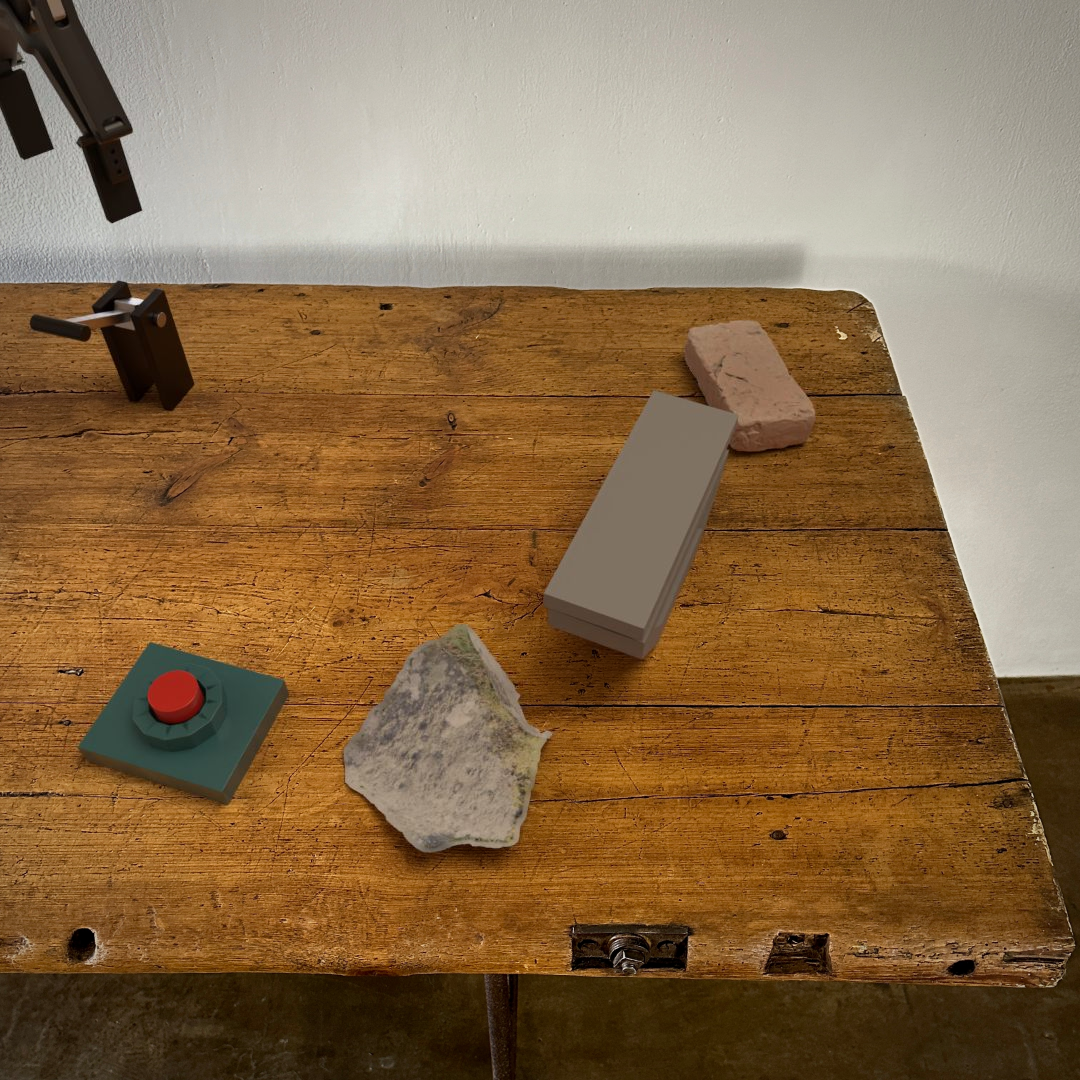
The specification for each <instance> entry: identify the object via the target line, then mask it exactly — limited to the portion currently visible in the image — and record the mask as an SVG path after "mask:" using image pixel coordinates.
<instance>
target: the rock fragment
mask: <svg viewBox="0 0 1080 1080" xmlns="http://www.w3.org/2000/svg"><path fill="white" fill-rule="evenodd" d="M520 697H521V694H520V693H519V692H517V689H516V686H515V685H514V683H513V682H512V681H511V680H510V678H509V676H508V673H506V672H505V670H503V669H502V667H501V664H500V663H499V662H498V661H497V660H496V658H495V657H494V655H492V654H491V653H490V650H489V649H488V648H487V645H486V644H484V643H483V641H482V640H481V638H480V637H479V635H478V634H477V633H476V632H475V631H474V630H473V629H472V627H470V626H469V625H468V624H466V623H458V624H456V625H454V626H452V628H451V629H450V630H449V631H447V632H446V633H445V634H442V636H441V637H439V638H436V639H435V638H433V639H429V640H427V641H425V642H423V643H421V644H419V645H418V646H416V647H415V648H414V649H413V650H412V652H411V653H410V654H409V655H407V656H406V659H405V660H404V662H403V666H402V669H401V670H399V671H398V673H397V674H396V677H395V681H393V682H392V683H391V685H390V687H389V688H388V689H386V690H385V692H384V696H383V700H382V702H380V703H378V704H376V705H375V706H374V707H373V708H371V709H370V710H369V712H368V713H367V716H366V718H365V719H364V721H363V722H362V725H361V727H360V730H359V731H358V732H355V733H354V735H352V736H350V737H351V738H350V739H349V741H348V743H347V744H346V746H344V748H343V762H344V782H345V784H347V786H348V787H349V788H351V789H352V790H354V791H356V792H358V793H359V794H361V795H362V796H363V797H365V798H366V799H367V800H368V801H369V802H370V804H373V805H374V807H375V808H376V809H377V810H378V811H379V812H381V814H383V815H384V817H385V820H386V821H387V822H388V823H389V824H390V826H392V827H394V828H395V829H396V830H397V831H398V832H400V833H402V835H403V837H404V838H405V839H406V841H407V842H408V843H409V844H411V845H412V846H413V847H414V848H415V849H417V850H419V851H420V852H424V853H436V852H442V851H444V850H445V851H446V849H450V848H451V847H455V846H458V845H471V846H472V847H483V848H492V849H500V848H504V847H505V848H507V847H512V846H514V845H516V844H517V843H518V842H519V839H520V836H521V834H520V832H521V826H522V825H523V823H524V822H525V820H526V818H527V816H528V809H529V805H530V801H531V797H532V792H531V791H532V790H533V789H534V787H535V784H536V776H537V773H538V768H539V767H538V764H539V762H541V754H542V753H541V750H542V748H543V747H544V745H545V743H547V742H548V740H549V739H551V737H552V736H553V733H552V732H551V731H550V730H548V729H547V730H545V731H543V732H542V733H541V730H540V729H539V728H538V727H534V726H532V725H531V724H530V723H529V722H528V721H527V719H526V718H525V714H524V713H523V709H522V706H521V705H520V703H519V699H520Z"/></svg>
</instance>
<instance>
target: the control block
mask: <svg viewBox="0 0 1080 1080" xmlns="http://www.w3.org/2000/svg"><path fill="white" fill-rule="evenodd" d="M171 671H185V672H188V673H190V674H192V675H193V676H194V677H195V679H196V680H197V683H198V685H199V687H200V689H201V691H202V694H203V703H202V706H201V708H200V710H199V711H198V712H197V714H196V715H194V716H193V717H192V718H191V719H189V720H187V721H185V722H182V723H177V724H170V723H166V722H163V721H161V720H160V719H159V718H158V717H157V716H156V714H155V713H154V711H153V709H152V707H151V705H150V703H149V701H148V691H149V688H150V686H151V685H152V683H153V682H154V681H155V680H156V679H157V678H158V677H160V676H161V675H163V674H165V673H167V672H171ZM289 696H290V692H289V689H288V686H287V683H286V680H285V679H283V678H279V677H276V676H271V675H268V674H265V673H261V672H258V671H254V670H251V669H248V668H244V667H240V666H236V665H233V664H229V663H226V662H222V661H219V660H215V659H211V658H208V657H205V656H202V655H197V654H194V653H191V652H187V651H184V650H180V649H177V648H174V647H169V646H166V645H162V644H159V643H155V642H151V641H150V642H149V643H148V644H147V645H146V647H145V648H144V650H143V651H142V652H141V654H140V656H139V657H138V659H136V661H135V663H134V664H133V665H132V667H131V669H130V670H129V672H128V673H127V674H126V676H124V678H123V680H122V681H121V683H120V684H119V685H118V687H117V689H116V691H115V692H114V693H113V695H112V696H111V697H110V699H109V700H108V702H106V703H107V704H106V705H105V706H104V708H103V709H102V710H101V712H100V714H99V715H98V716H97V718H96V719H95V721H94V722H93V724H92V725H91V727H90V728H89V730H88V731H87V732H86V734H85V735H84V737H83V739H82V740H81V741H80V743H79V744H78V746H77V749H78V750H79V752H80V754H81V755H82V756H83V758H84V759H85V761H86V762H89V763H92V764H96V765H98V766H101V767H105V768H108V769H111V770H114V771H116V772H120V773H123V774H126V775H129V776H133V777H136V778H140V779H142V780H146V781H149V782H152V783H156V784H159V785H162V786H166V787H169V788H172V789H175V790H178V791H181V792H184V793H187V794H191V795H194V796H198V797H201V798H204V799H206V800H210V801H213V802H216V803H219V804H223V805H226V806H229V805H230V803H231V802H232V800H233V798H234V796H235V794H236V792H237V790H238V789H239V787H240V785H241V784H242V782H243V780H244V778H245V776H246V775H247V772H248V770H249V768H250V767H251V765H252V763H253V761H254V760H255V758H256V756H257V754H258V752H259V750H260V749H261V747H262V745H263V743H264V742H265V739H266V737H267V736H268V734H269V732H270V731H271V729H272V728H273V725H274V724H275V721H276V720H277V718H278V716H279V715H280V712H281V711H282V709H283V708H284V705H285V704H286V701H287V699H288V698H289Z"/></svg>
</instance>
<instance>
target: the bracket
mask: <svg viewBox="0 0 1080 1080" xmlns="http://www.w3.org/2000/svg"><path fill="white" fill-rule="evenodd" d="M128 298H133V296H132V292H131V290H130V286H129V284H128V282H127V281H123V280H119V279H118V280H117V281H116V282H115V283H113V285H112V286H110V287H109V288H108V289H107V290H106V291H105V292H104V293H103V294H102V295H101V296H100V297H99V298H98V299H96V301H95V302H94V303H93V304H92V305H91V309H92V312H93V314H98V313H103V312H109V311H114V301H116V300H122V299H128ZM142 300H143V301H142V302H141V303H140V305H139V306H138V307H137V308H136V309H135V310H134V311H133V312H132V313H131V314H130V317H131V320H132V323H133V325H134V328H135V330H130V329H126V328H121V327H117V326H115V325H111V326H106V327H101V328H99V329H100V331H101V334H102V336H103V339H104V342H105V344H106V347H107V349H108V352H109V354H110V357H111V360H112V363H113V365H114V367H115V369H116V372H117V374H118V377H119V379H120V382H121V384H122V387H123V389H124V393H125V394H126V397H127V400H128V402H130V403H135V404H138V403H139V402H140V401H141V400H142V399H143V397H144V396H145V395H146V394H147V393H148V392H149V390H150V389H151V388H152V387H153V386H155V389H156V391H157V394H158V397H159V399H160V403H161V405H162V407H163V410H166V411H169V412H173V411H174V410H175V409H176V408H177V407H178V405H179V404H180V403H181V402H182V400H183V399H184V398H185V397H186V395H187V394H188V393H189V392H190V391H191V390H192V389H193V387H194V386H195V381H194V378H193V375H192V372H191V368H190V366H189V363H188V360H187V359H188V358H187V357H186V353H185V351H184V347H183V344H182V341H181V338H180V335H179V332H178V327H177V325H176V322H175V319H174V317H173V313H172V310H171V307H170V304H169V301H168V297H167V294H166V291H165V290H164V289H161V288H157V287H155V288H154V289H152V291H151V292H150V293H149V294H148V295H147V296H146V297H145V298H144V299H142Z"/></svg>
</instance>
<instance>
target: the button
mask: <svg viewBox="0 0 1080 1080" xmlns="http://www.w3.org/2000/svg"><path fill="white" fill-rule="evenodd" d="M148 701H149V703H150V705H151V707H152V709H153V711H154V713H155V714H156V716H157V717H158V718H159V719H160V720H161V721H163V722H166V723H170V724H177V723H182V722H185V721H187V720H189V719H191V718H192V717H193V716H194V715H196V714H197V712H198V711H199V710H200V708H201V706H202V703H203V694H202V691H201V689H200V687H199V685H198V683H197V680H196V679H195V677H194V676H193V675H192V674H190V673H188V672H185V671H171V672H167V673H165V674H163V675H161V676H160V677H158V678H157V679H156V680H155V681H154V682H153V683H152V685H151V686H150V688H149V691H148Z"/></svg>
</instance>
